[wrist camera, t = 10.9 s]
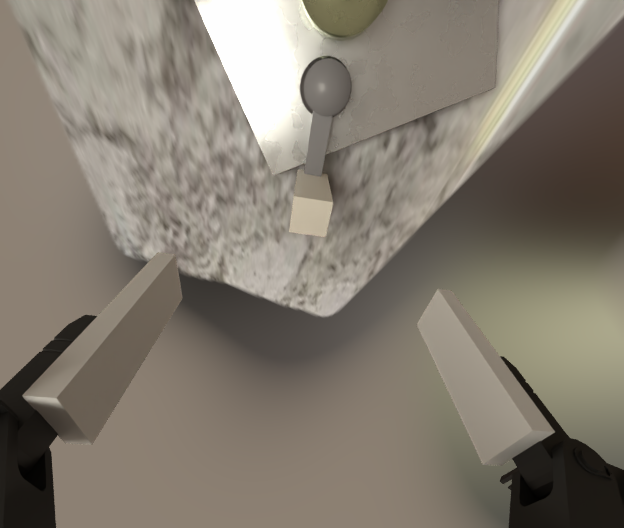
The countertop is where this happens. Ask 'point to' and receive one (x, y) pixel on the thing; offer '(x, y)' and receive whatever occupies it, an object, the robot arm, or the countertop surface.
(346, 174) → the countertop surface
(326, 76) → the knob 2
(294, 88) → the level plate
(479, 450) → the robot arm
